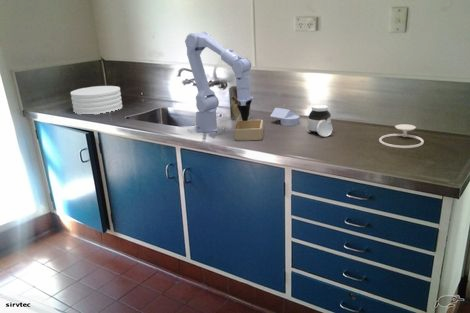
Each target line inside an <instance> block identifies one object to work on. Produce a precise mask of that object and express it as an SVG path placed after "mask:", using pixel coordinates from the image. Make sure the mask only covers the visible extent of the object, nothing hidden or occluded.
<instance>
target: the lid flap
mask: <svg viewBox="0 0 470 313" xmlns="http://www.w3.org/2000/svg"><path fill="white" fill-rule="evenodd" d="M240 118H241V113H240V114H239V116H238V118H237V120H235V123H234V125H233V127H232V129H234V130H235V127H236V125H237V123H238V121H239V119H240Z"/></svg>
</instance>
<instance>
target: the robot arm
mask: <svg viewBox="0 0 470 313" xmlns="http://www.w3.org/2000/svg"><path fill="white" fill-rule="evenodd" d="M184 42H185V46H186V47H185V48H186V56H187V59H188V63H189V66H190V68H191V72H192V76H193V79H194V82H195V85H196V89H197V94H196V95H195V101H196V103H195V104H196V109H197V110H198V111H196V112H195V127H196V132H197V133H206V132H207V133H209V132H210V133H211V132H215V133H217V132H218V130H219V128H220V126H219V125H218V122H217V108H218V107H219V105H220V104H219V102H220V101H219V98H218V97H217V96H216V94H215V91H214V90H212V89H211V88H210V85H209V81H208V77H207V75H206V74H207V73H206V71H205V68H204V64H203V61H202V57H201V55H202V52H203V51H204V50H205V49H206V48H207V49H209V50H210V51H212V52H214V53H215V54H217V55H219V56H220V59H221V60H222V61H223V62H224V63H225V64H227V65H228V66H230V67H231V69H232V71H233V73H234V77H235V84H236V85H235V86H237V97H238V98H237V100H238V101H239V103H240V105H237V107H238V109H239V111H240V113H241V117H242V120H243V121H247V120H249V119H248V116H249V110H250V111H251V105H252V101H253V100H254V96H251V83H250V70H251V68H252V63H251V61H250V59H248V57H242V56H241V55H240V54H237V52H235V51H234V49H233V48H224V46H222V45H221V44H220V43H219V42H217V41H216V40H215V39H214V38H213V37H212V35H211V34H208V32H206V31H202V32H201V31H200V32H195V33H189V34H187V35H186V38H185V39H184Z"/></svg>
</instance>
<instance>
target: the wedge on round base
mask: <svg viewBox="0 0 470 313" xmlns="http://www.w3.org/2000/svg"><path fill="white" fill-rule="evenodd" d="M270 117H273V118H278V119H280V125H281V126H285V127H294V126H295V127H296V126H298V124H299V125H300V115H299V114H298V115H297V114H295V113H294V112H293V111H292V110H291V109H287V108H280V107H274V109H273V111H272V113H270Z"/></svg>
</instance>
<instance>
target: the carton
mask: <svg viewBox="0 0 470 313" xmlns="http://www.w3.org/2000/svg"><path fill="white" fill-rule="evenodd" d="M263 136H264V120H263V119H248V120H247V121H243V120H239V121H238V123H237V125H236V127H235V128H234V140H236V141H261V140H263Z"/></svg>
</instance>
